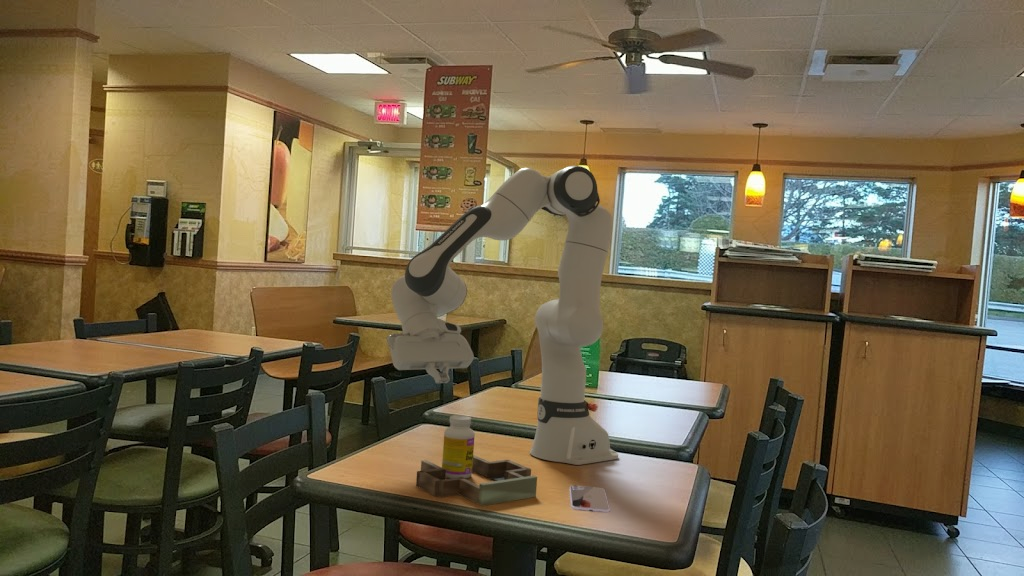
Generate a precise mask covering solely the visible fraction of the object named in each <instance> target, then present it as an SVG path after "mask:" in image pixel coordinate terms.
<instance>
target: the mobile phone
mask: <svg viewBox="0 0 1024 576" xmlns="http://www.w3.org/2000/svg"><path fill="white" fill-rule="evenodd" d="M568 489H569V498H570V499H569V500H570V507H571V509H572V510H575V511H588V512H598V513H599V512H600V513H610V511H611V509H610V506H609V502H608V497H607V494H606V490H605V488H603V487H597V486H595V487H594V486H585V485H576V484H575V485H574V484H573V485H570V486H569V488H568Z"/></svg>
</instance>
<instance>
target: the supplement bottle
mask: <svg viewBox="0 0 1024 576" xmlns="http://www.w3.org/2000/svg"><path fill="white" fill-rule="evenodd" d="M471 423H472V417H471V416H468V415H463V414H453V415H450V416H449V424H450V425H449V427H447V428H446V429H445V430H444V433H443V445H442V447H443V449H442V461H441V467H442V468H444V469H446V474H445V478H446V479H451V478H458V477H462V478H465V479H468V478H470V477H471V476H472V475H473V471H472V466H473V455H474V448H475V437H476V436H475V431H474V430H473V428H470V427H471Z"/></svg>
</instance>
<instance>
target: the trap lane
mask: <svg viewBox="0 0 1024 576" xmlns="http://www.w3.org/2000/svg"><path fill="white" fill-rule="evenodd" d="M420 461H421V462H420V470H417V471H416V479H415V480H416V482H415V483H416V484H415V486H416V487H417V486H418V488H419V487H420V488H419V489H421V490H423V491H424V492H427V493H429V494H430V495H432V496H434V497H435V498H442V497H443V498H444V497H449V496H457V495H459V496H462V497H464V498H466V499H467V500H469V501H471V502H473V503H475V504H477V505H479V506H481V507H484V506H490V505H495V504H496V505H497V504H501V503H507V502H513V501H518V500H524V499H530V498H535V497H537V486H538V476H536V475H532V468H530V467H527V466H524V465H522V464H519V463H517V462H515V461H512V460H510V459H502V460H496V461H495V460H494V461H489V460H486V459H484V458H482V457H479V456H477V455H474V454H473V466H472V472H475V473H477V474H479V475H482V476H483V477H486V478H488V479H490V480H493V481H488V482H481V483H479V484H476V483H475V482H473V481H471V480H469V479H468V478H466V479H465V478H462V477H458V478H446V477H445V474H446V469H444V468H442V466H440V465H437V464H435V463H433V462H431V461H430V460H427V459H424V460H420Z"/></svg>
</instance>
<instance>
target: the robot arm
mask: <svg viewBox="0 0 1024 576" xmlns="http://www.w3.org/2000/svg"><path fill="white" fill-rule="evenodd" d="M598 192H599V191H598V184H597V180H596V178H595V176H594V174H593V173H592V172H591V171H590V170H589V169H588V168H586V167H583V166H581V165H580V166H579V165H570V166H566V167H564V168H562V169H559V170H558V171H556V172H554V173H553V174H551V175H549V176H544V175H542V174H541V172H539V171H537V170H536V169H534V168H531V167H523V168H520V169H518V170H517V171H516V172H514V173H513V174H512V175H511V176H509V177H508V178H507V179H506V180H505V181H504V182H503V183H502V184H501V185H500V186H499V187H498V188H497V190H496V191H495V192H494V193H493V194H492V195H491V197H489V199H487V200H486V201H485V202H484V203H482V204H481V205H476V206H474V207H472V208H470V209H468V210H467V211H466V212H465V213H463V214H462V215H461V216H460V217H459V218H458V219H456V220H455V222H453V223H452V224H451V225H450V226H449V227H448V228H447V229H446V230H445V231H444V232H443V233H442V234H440V236H439V237H437V238H436V239H435V240H434V241H433V242H432V243H431V244H430V245H429V246H427V247H426V248H424V249H423V250H422V251H420V252H418V253H417V254H415V255H414V256H413V257H411V259H410V260H409V262H408V263H407V265H406V268H405V271H404V275H403V276H401V277H399V278H397V279H396V280H395V282H394V283H393V285H392V287H391V292H390V293H391V294H390V295H391V301H392V305H393V309H394V312H395V314H396V317H397V319H398V320H399V321H400V323H401V329H402V333H396V332H394V333H393V332H392V333H390V334H389V335H388V336H387V338H386V343H387V345H388V348H389V351H390V357H391V358H390V359H391V362H392V366H394V368H395V369H396V370H398V371H407V370H409V371H412V370H415V371H416V370H417V371H418V370H425V371H426V373H427V374H428V375H429V376H431V377H432V378H433V379H434V382H435V384H447V383H449V382H450V381H451V379H450V375H449V370H450V369H468V367H469V366H470V365H471V364H472V362H473V361H474V358H475V357H474V356H475V355H474V352H473V350H472V348H471V346H470V343H469V342H468V340H467V339H466V338H465V336H463V335H462V334H461V333H462V328H461V326H459V325H458V324H455V323H452V322H448V321H446V320H443V319H441V318H440V317H442V316H445V315H448V314H449V313H452V312H453V311H455V310H458V309H459V308H460V307H461V306H462V305H463V304H464V302H465V300H466V298H467V293H468V288H467V285H466V283H465V281H464V280H463V279H462V278H461V277H460V276H459V274H457V273H456V272H455V271H454V270H453V269H452V268H451V267H450V266H451V263H452V261H453V260H454V259H455V258H456V257H457V256H459V254H460V253H462V252H463V250H464V249H466V248H467V247H468V246H469V245H470V244H471V243H472V242H473V241H475V240H476V239H479V238H489V239H492V240H495V241H507V240H512V239H513V238H515V237H516V236H517V235H519V233H521V232H522V231H523V230H524V228H526V226H527V225H528V223H529V222H530V221H531V220H532V219H533V217H534V216H535V215H536V213H537V212H539V211H540V210H544V212H545V211H546V212H548V213H550V214H551V215H555V216H566V219H567V223H568V226H567V227H568V228H567V234H566V238H565V240H564V241H565V242H564V245H563V249H562V253H561V257H560V260H559V265H558V268H557V276H558V279H559V293H558V294H559V296H558V298H557V299H552V300H549V301H546V302H544V303H543V304H541V305H540V306H539V307H538V309H537V310H536V312H535V315H534V316H535V317H534V324H535V327H536V329H537V333H538V340H539V349H540V355H541V356H540V358H541V382H540V383H541V384H540V396H539V397H538V402H537V424H536V430H535V435H534V439H533V442H532V445H531V449H530V451H529V454H530V455H531V456H533V457H535V458H537V459H542V460H545V461H551V462H554V463H555V462H556V463H566V464H570V465H577V466H581V465H586V464H593V463H599V462H606V461H613V460H618V459H619V453H618V452H617V451H615V450H613V449H612V448H611V446H610V444H611V443H610V437H609V433H608V431H607V430H606V429H605V428H604V427H603V426H602V425H600V424H599V423H598V422H597V421H596V420H595V419H594V418H593V417H592V416H591V414H590V411H591V412H593V413H594V412H597V411H598V408H599V406H598V404H596V403H593V402H590V403H589V402H588V401H586V400H585V398H586V397H585V396H586V395H585V394H586V383H587V382H586V381H587V379H586V378H587V368H586V366H585V364H584V360H583V356H582V350H581V348H582V347H588V346H592V345H594V344H595V343H596V342H598V340H600V338H601V336H602V334H603V332H604V319H603V317H602V314H601V309H600V308H601V283H602V278H603V275H604V274H603V273H604V270H605V265H606V261H607V257H608V253H609V248H610V244H611V243H610V242H611V236H612V227H613V218H612V214H611V212H610V211H609V210H608V209H607V208H605V207H604V206H601V205H600V204H601V203H600V202H601V201H600V195H599V193H598ZM437 369H438V370H437ZM439 371H440V372H439Z"/></svg>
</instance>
